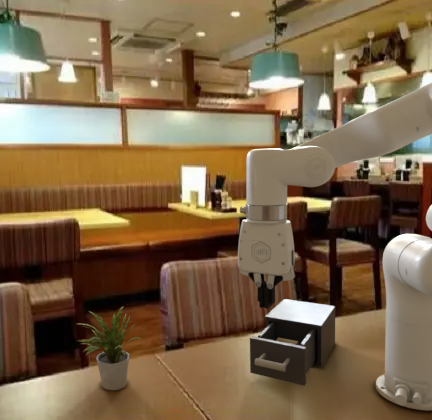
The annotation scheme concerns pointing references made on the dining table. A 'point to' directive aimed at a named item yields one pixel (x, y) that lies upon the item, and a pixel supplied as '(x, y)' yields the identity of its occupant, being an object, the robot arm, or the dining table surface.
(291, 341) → the cube
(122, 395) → the dining table surface
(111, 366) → the house plant
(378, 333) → the dining table surface
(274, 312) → the drawer cabinet
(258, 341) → the pull-out drawer
